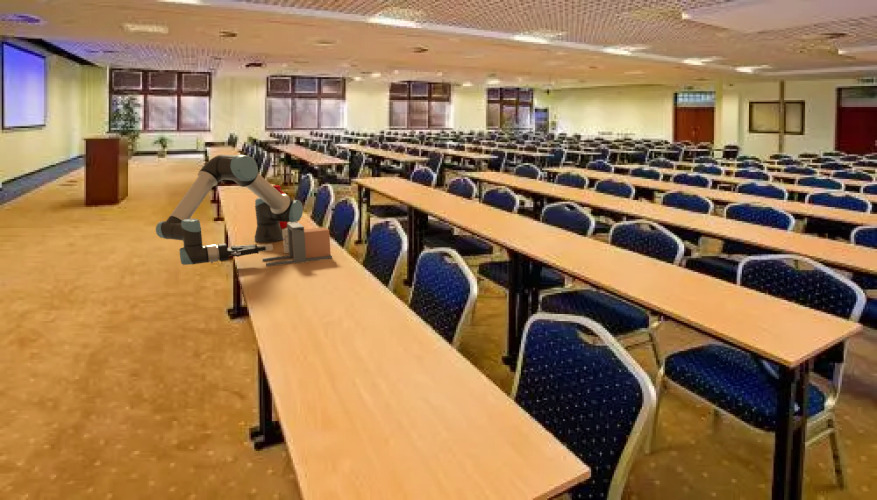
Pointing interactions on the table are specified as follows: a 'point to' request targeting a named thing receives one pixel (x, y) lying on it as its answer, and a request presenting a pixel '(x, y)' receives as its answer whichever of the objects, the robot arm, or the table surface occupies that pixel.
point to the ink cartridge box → (285, 240)
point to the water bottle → (282, 224)
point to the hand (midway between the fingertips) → (272, 247)
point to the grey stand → (295, 247)
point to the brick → (317, 242)
